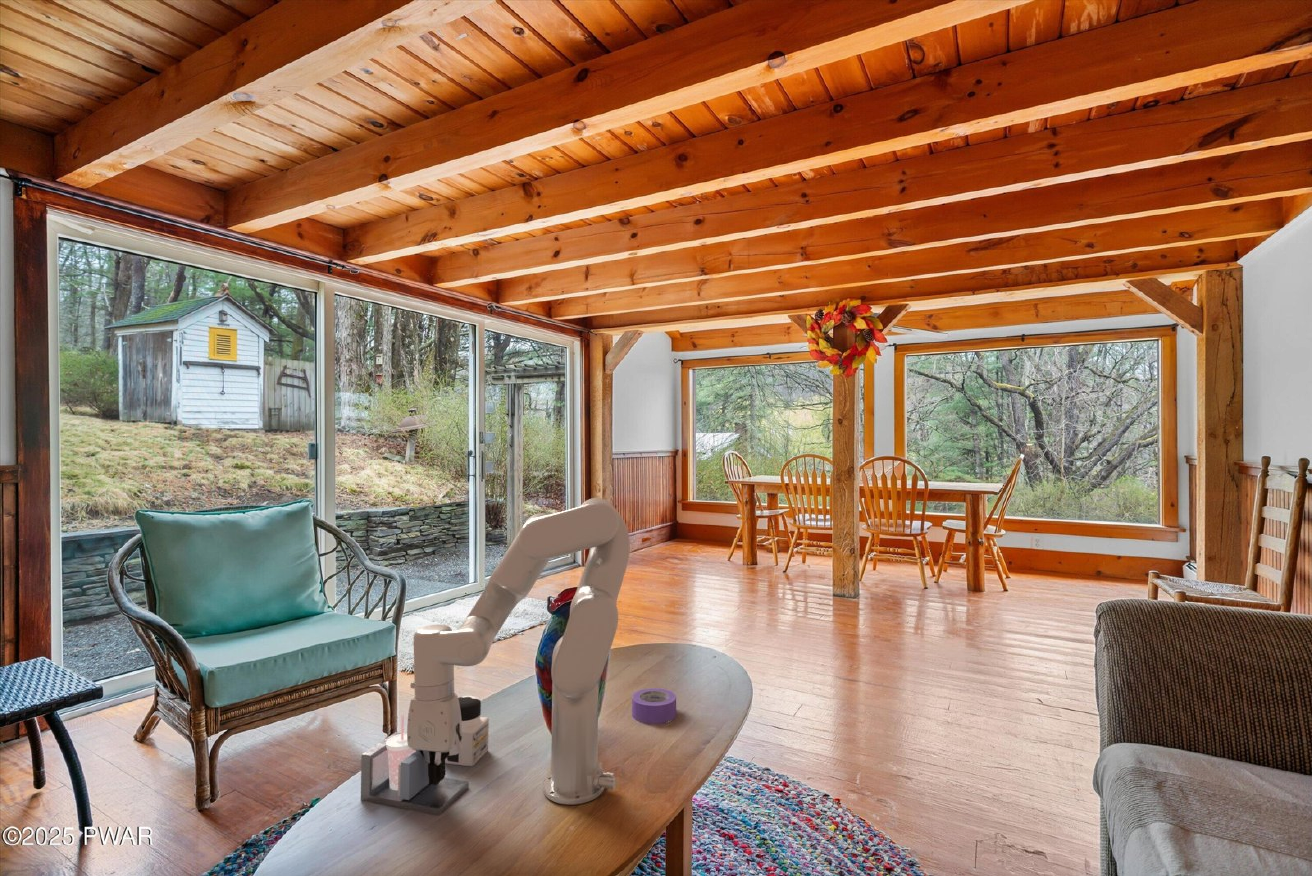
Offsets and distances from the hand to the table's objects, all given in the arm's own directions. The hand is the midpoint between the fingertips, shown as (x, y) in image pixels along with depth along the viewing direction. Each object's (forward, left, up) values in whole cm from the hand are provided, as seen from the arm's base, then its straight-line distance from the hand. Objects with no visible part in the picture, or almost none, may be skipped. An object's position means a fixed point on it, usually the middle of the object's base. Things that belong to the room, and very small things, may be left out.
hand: (436, 780), depth 123 cm
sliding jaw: (+4, 0, -2) cm, 5 cm away
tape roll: (-31, -50, -4) cm, 59 cm away
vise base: (+5, 0, -3) cm, 6 cm away
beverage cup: (+9, 0, -2) cm, 9 cm away
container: (+4, -16, -4) cm, 17 cm away
